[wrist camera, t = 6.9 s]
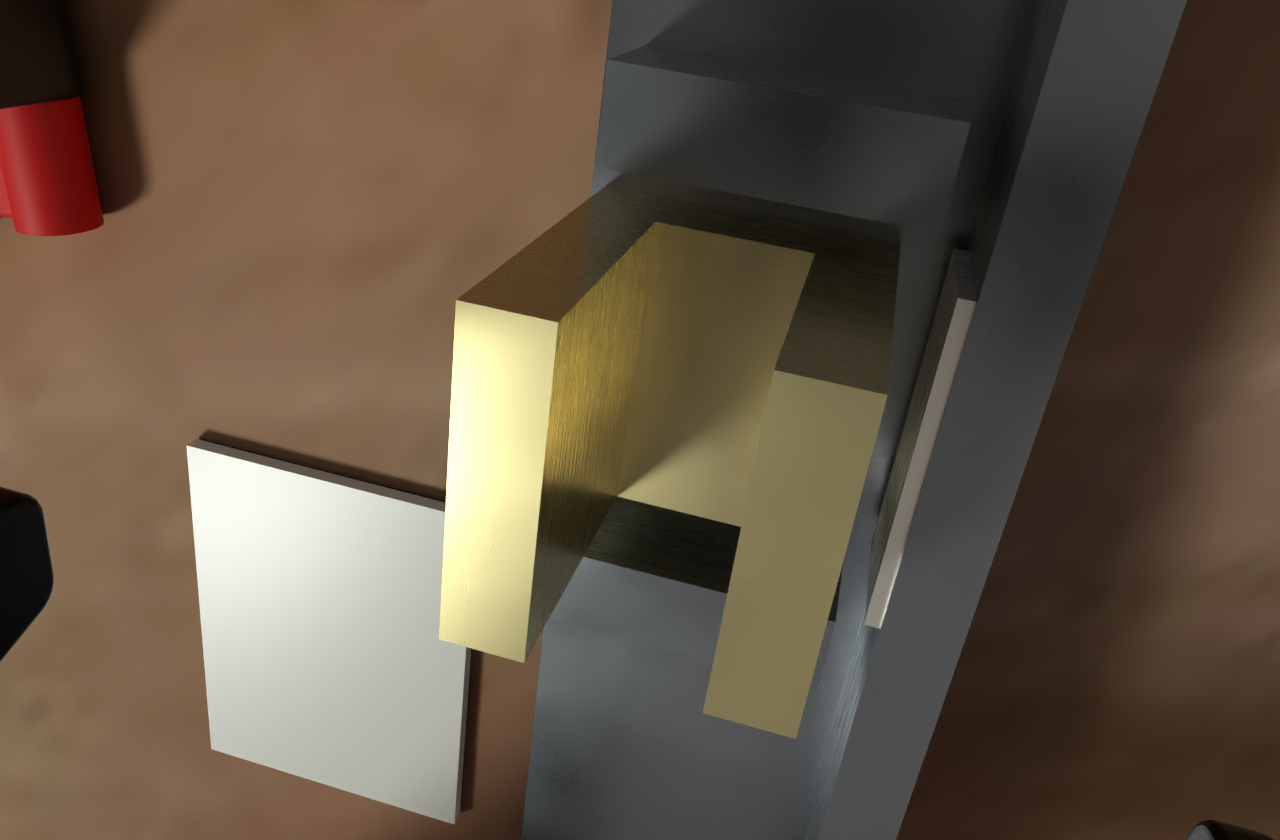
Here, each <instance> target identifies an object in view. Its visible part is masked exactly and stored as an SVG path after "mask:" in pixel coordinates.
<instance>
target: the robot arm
mask: <svg viewBox="0 0 1280 840" xmlns="http://www.w3.org/2000/svg"><path fill="white" fill-rule="evenodd" d="M53 583H54V573H53V567H52V561H51V555H50V549H49V543H48V537H47V531H46V524H45V518H44V513H43V510H42V507H41V506H40V504H39V503H38V501H37V500H36V499H35V498H33V497H31V496H30V495H28V494H25V493H21V492H17V491H14V490H10V489H6V488H3V487H0V661H1V660H2V659H3V657H4V656H5V655H6V654H7V653H8V651H9V650H10V649H11V648H12V646H13V645H14V644H15V643H16V642H17V640H18V639H19V638H20V637H21V635H22V634H23V633H24V632H25V631H26V629H27V628H28V627H29V626H30V624H31V623H32V622H33V621H34V620H35V618H36V617H37V616H38V615H39V613H40V612H41V611H42V610H43V608H44V607H45V605H46V603H47V602H48V600H49V598H50V595H51V592H52V589H53ZM1186 840H1273V839H1272V838H1270V837H1269V836H1267V835H1264V834H1262V833H1259V832H1256V831H1252V830H1249V829H1245V828H1241V827H1238V826H1234V825H1230V824H1227V823H1223V822H1219V821H1216V820H1206V821H1202V822H1200V823H1199V824H1197V825H1196V826H1195V827H1194V828H1193V830H1192V831H1191V832H1190V834H1189V836H1188V838H1187V839H1186Z"/></svg>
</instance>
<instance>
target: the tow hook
mask: <svg viewBox="0 0 1280 840" xmlns="http://www.w3.org/2000/svg"><path fill="white" fill-rule="evenodd" d="M84 90H85V83H84V77H83V72H82V66H81V61H80V56H79V50H78V45H77V40H76V34H75V29H74V23H73V18H72V13H71V7H70V2H69V0H0V216H4V217H12V218H13V221H14V226H15V229H16V231H17V232H19V233H22V234H27V235H36V236H62V235H71V234H77V233H82V232H86V231H90V230H93V229H96V228H98V227H100V226H102V225H103V223H104V220H103V214H102V209H101V204H100V198H99V193H98V188H97V183H96V177H95V172H94V167H93V161H92V156H91V151H90V145H89V140H88V135H87V130H86V124H85V119H84V114H83V108H82V103H81V98H80V95H82V94H83V92H84Z"/></svg>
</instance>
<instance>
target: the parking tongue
mask: <svg viewBox="0 0 1280 840" xmlns="http://www.w3.org/2000/svg"><path fill="white" fill-rule="evenodd" d="M187 456H188V468H189V481H190V493H191V505H192V517H193V530H194V542H195V554H196V566H197V579H198V591H199V603H200V615H201V628H202V640H203V652H204V664H205V677H206V689H207V701H208V713H209V726H210V738H211V749H213V750H216V751H219V752H223V753H226V754H229V755H232V756H235V757H239V758H242V759H245V760H248V761H252V762H255V763H258V764H261V765H264V766H268V767H271V768H274V769H277V770H280V771H284V772H287V773H290V774H293V775H296V776H300V777H303V778H306V779H309V780H313V781H316V782H319V783H322V784H325V785H329V786H332V787H335V788H338V789H341V790H345V791H348V792H351V793H354V794H358V795H361V796H364V797H367V798H370V799H374V800H377V801H380V802H383V803H386V804H390V805H393V806H396V807H399V808H403V809H406V810H409V811H412V812H415V813H419V814H422V815H425V816H428V817H431V818H435V819H438V820H441V821H444V822H448V823H451V824H455V822H456V821H457V819H458V817H459V815H460V805H461V790H462V776H463V762H464V747H465V733H466V719H467V704H468V690H469V676H470V661H471V648H468V647H465V646H461V645H458V644H454V643H450V642H447V641H443V640H440V639H439V626H440V606H441V587H442V567H443V547H444V528H445V508H446V503H445V502H441V501H437V500H433V499H429V498H425V497H421V496H418V495H414V494H410V493H406V492H402V491H398V490H394V489H390V488H386V487H382V486H378V485H375V484H371V483H367V482H363V481H359V480H355V479H351V478H347V477H343V476H339V475H335V474H332V473H328V472H324V471H320V470H316V469H312V468H308V467H304V466H300V465H296V464H292V463H289V462H285V461H281V460H277V459H273V458H269V457H265V456H261V455H257V454H253V453H249V452H246V451H242V450H238V449H234V448H230V447H226V446H222V445H218V444H214V443H210V442H206V441H203V440H199V439H195V440H194V441H193V442H191V443H190V444H188V445H187Z"/></svg>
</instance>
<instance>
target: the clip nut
mask: <svg viewBox="0 0 1280 840" xmlns="http://www.w3.org/2000/svg"><path fill="white" fill-rule="evenodd" d="M900 247H901V244H898V243H893V242H888V241H883V240H878V239H873V238H868V237H863V236H857V235H852V234H847V233H842V232H837V231H832V230H827V229H822V228H816V227H811V226H806V225H801V224H796V223H791V222H786V221H781V220H776V219H770V218H765V217H760V216H755V215H750V214H745V213H740V212H735V211H729V210H724V209H719V208H714V207H709V206H704V205H699V204H694V203H688V202H683V201H678V200H673V199H668V198H663V197H658V196H653V195H648V194H642V193H637V192H632V191H627V190H622V189H617V188H612V187H607V186H605V187H603V188H602V189H601V190H600V191H598V192H597V193H596V194H594V195H593V196H592V197H590V198H589V199H588V200H586V201H585V202H584V203H583V204H581V205H580V206H579V207H577V208H576V209H575V210H573V211H572V212H571V213H569V214H568V215H567V216H565V217H564V218H563V219H562V220H560V221H559V222H558V223H556V224H555V225H554V226H552V227H551V228H550V229H548V230H547V231H546V232H545V233H543V234H542V235H541V236H539V237H538V238H537V239H535V240H534V241H533V242H531V243H530V244H529V245H528V246H526V247H525V248H524V249H522V250H521V251H520V252H518V253H517V254H516V255H514V256H513V257H512V258H510V259H509V260H508V261H507V262H505V263H504V264H503V265H501V266H500V267H499V268H497V269H496V270H495V271H493V272H492V273H491V274H490V275H488V276H487V277H486V278H484V279H483V280H482V281H480V282H479V283H478V284H476V285H475V286H474V287H472V288H471V289H470V290H469V291H467V292H466V293H465V294H463V295H462V296H461V297H459V298H458V299H457V300H456V312H455V331H454V351H453V371H452V390H451V410H450V430H449V449H448V469H447V488H446V508H445V528H444V547H443V567H442V587H441V606H440V626H439V639H440V640H443V641H447V642H450V643H454V644H458V645H461V646H465V647H468V648H472V649H475V650H479V651H483V652H486V653H490V654H493V655H497V656H500V657H504V658H508V659H511V660H515V661H518V662H522V663H524V662H525V661H526V659H527V657H528V655H529V654H530V652H531V650H532V648H533V646H534V645H535V643H536V641H537V639H538V637H539V636H540V634H541V632H542V630H543V628H544V627H545V625H546V623H547V621H548V619H549V618H550V616H551V614H552V612H553V610H554V609H555V607H556V605H557V603H558V602H559V600H560V598H561V596H562V594H563V593H564V591H565V589H566V587H567V585H568V584H569V582H570V580H571V578H572V576H573V575H574V573H575V571H576V569H577V567H578V566H579V564H580V562H581V560H582V558H583V557H584V555H585V553H586V551H587V549H588V548H589V546H590V544H591V542H592V541H593V539H594V537H595V535H596V533H597V532H598V530H599V528H600V526H601V524H602V523H603V521H604V519H605V517H606V515H607V514H608V512H609V510H610V508H611V506H612V505H613V503H614V501H615V499H616V497H617V496H618V497H622V498H626V499H630V500H634V501H638V502H642V503H646V504H650V505H654V506H658V507H662V508H666V509H670V510H674V511H679V512H683V513H687V514H691V515H695V516H699V517H703V518H707V519H711V520H715V521H719V522H723V523H727V524H731V525H735V526H739V527H741V531H740V535H739V540H738V545H737V550H736V555H735V559H734V564H733V569H732V574H731V579H730V584H729V588H728V593H727V598H726V603H725V608H724V612H723V617H722V622H721V627H720V632H719V637H718V641H717V646H716V651H715V656H714V661H713V665H712V670H711V675H710V680H709V685H708V690H707V694H706V699H705V704H704V709H703V713H704V714H708V715H711V716H715V717H719V718H722V719H726V720H729V721H733V722H736V723H740V724H744V725H747V726H751V727H754V728H758V729H761V730H765V731H769V732H772V733H776V734H779V735H783V736H787V737H790V738H794V739H796V737H797V734H798V730H799V726H800V722H801V719H802V715H803V711H804V707H805V704H806V700H807V696H808V692H809V688H810V685H811V681H812V677H813V673H814V670H815V666H816V662H817V658H818V655H819V651H820V647H821V643H822V640H823V636H824V632H825V628H826V625H827V621H828V617H829V613H830V610H831V606H832V602H833V598H834V595H835V591H836V587H837V583H838V580H839V576H840V572H841V568H842V565H843V561H844V557H845V553H846V550H847V546H848V542H849V538H850V535H851V531H852V527H853V523H854V520H855V516H856V512H857V508H858V505H859V501H860V497H861V493H862V490H863V486H864V482H865V478H866V475H867V471H868V467H869V463H870V460H871V456H872V452H873V448H874V445H875V441H876V437H877V433H878V430H879V426H880V422H881V418H882V414H883V411H884V407H885V403H886V399H887V396H888V386H889V374H890V363H891V351H892V339H893V328H894V316H895V305H896V293H897V281H898V270H899V258H900Z"/></svg>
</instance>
